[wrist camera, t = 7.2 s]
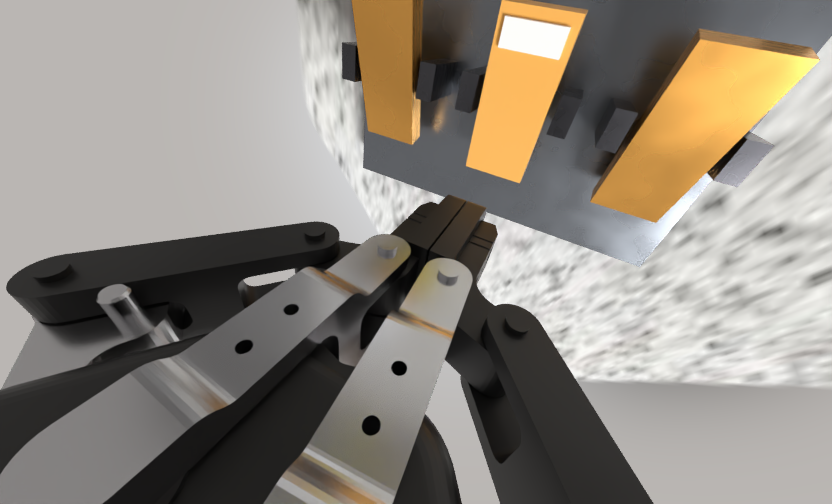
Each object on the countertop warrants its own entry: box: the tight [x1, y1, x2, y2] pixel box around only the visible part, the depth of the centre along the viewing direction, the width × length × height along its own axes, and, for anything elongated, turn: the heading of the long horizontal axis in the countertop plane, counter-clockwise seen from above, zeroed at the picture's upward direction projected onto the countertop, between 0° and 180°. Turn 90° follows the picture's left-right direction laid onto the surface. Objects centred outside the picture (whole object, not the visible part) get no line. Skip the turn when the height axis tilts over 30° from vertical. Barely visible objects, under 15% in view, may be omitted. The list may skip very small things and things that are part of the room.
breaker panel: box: [342, 0, 832, 267], centre depth 15 cm, size 19×14×6 cm
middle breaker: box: [466, 0, 588, 183], centre depth 14 cm, size 3×7×1 cm, turn 171°
